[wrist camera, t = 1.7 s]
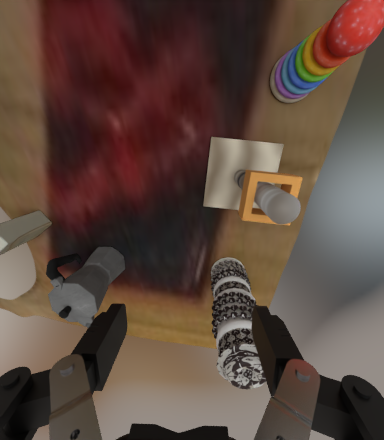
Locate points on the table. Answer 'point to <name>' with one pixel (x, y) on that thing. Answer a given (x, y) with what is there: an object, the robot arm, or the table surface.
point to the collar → (249, 189)
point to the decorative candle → (235, 325)
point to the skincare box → (22, 230)
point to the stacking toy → (327, 49)
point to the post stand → (235, 172)
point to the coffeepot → (83, 284)
